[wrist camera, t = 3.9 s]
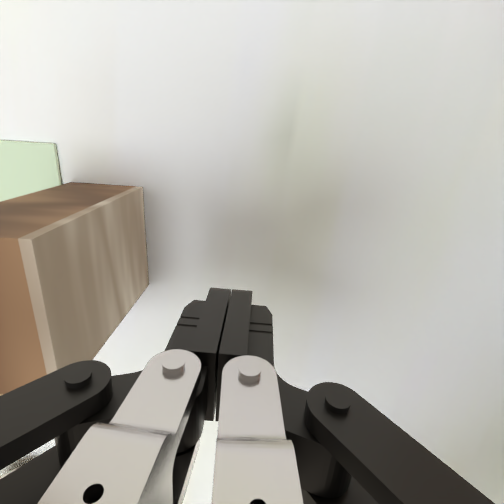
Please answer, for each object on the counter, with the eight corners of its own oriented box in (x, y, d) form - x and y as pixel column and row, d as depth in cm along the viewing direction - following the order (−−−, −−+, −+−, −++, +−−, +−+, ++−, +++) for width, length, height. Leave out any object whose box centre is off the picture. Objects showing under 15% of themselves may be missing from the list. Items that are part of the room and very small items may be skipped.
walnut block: (142, 186, 18) (31, 239, 9) (148, 284, 20) (62, 398, 12) (70, 182, 18) (-104, 230, 9) (84, 280, 20) (-48, 390, 12)
